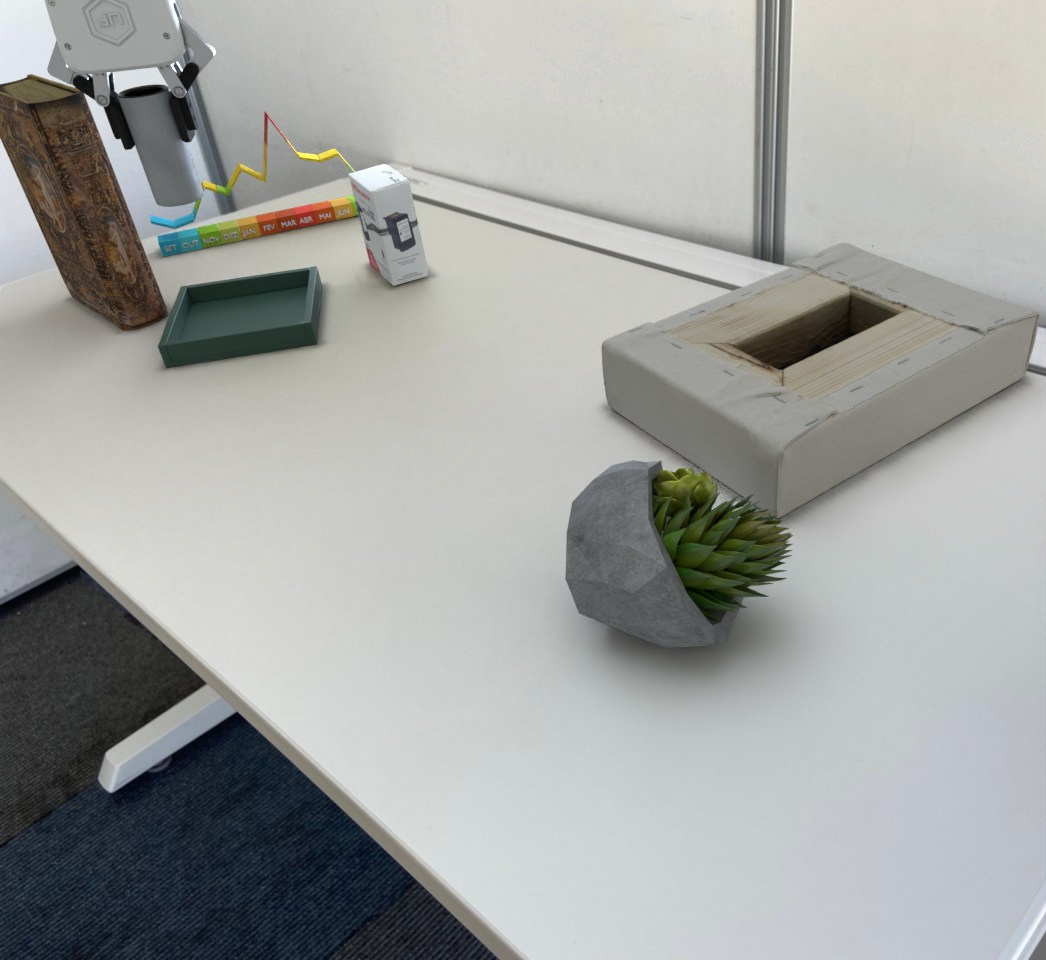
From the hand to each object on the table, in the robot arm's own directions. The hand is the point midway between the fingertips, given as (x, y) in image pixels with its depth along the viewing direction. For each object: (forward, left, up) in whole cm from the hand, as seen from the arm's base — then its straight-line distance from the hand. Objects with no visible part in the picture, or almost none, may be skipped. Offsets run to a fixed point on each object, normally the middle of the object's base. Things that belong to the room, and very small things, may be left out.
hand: (160, 140), depth 93 cm
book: (-15, +16, -22) cm, 31 cm away
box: (+55, -30, -22) cm, 67 cm away
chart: (+2, +35, -22) cm, 42 cm away
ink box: (+18, +14, -22) cm, 32 cm away
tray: (+1, +5, -22) cm, 23 cm away
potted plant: (+36, -54, -22) cm, 69 cm away
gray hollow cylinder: (0, 0, -6) cm, 6 cm away
